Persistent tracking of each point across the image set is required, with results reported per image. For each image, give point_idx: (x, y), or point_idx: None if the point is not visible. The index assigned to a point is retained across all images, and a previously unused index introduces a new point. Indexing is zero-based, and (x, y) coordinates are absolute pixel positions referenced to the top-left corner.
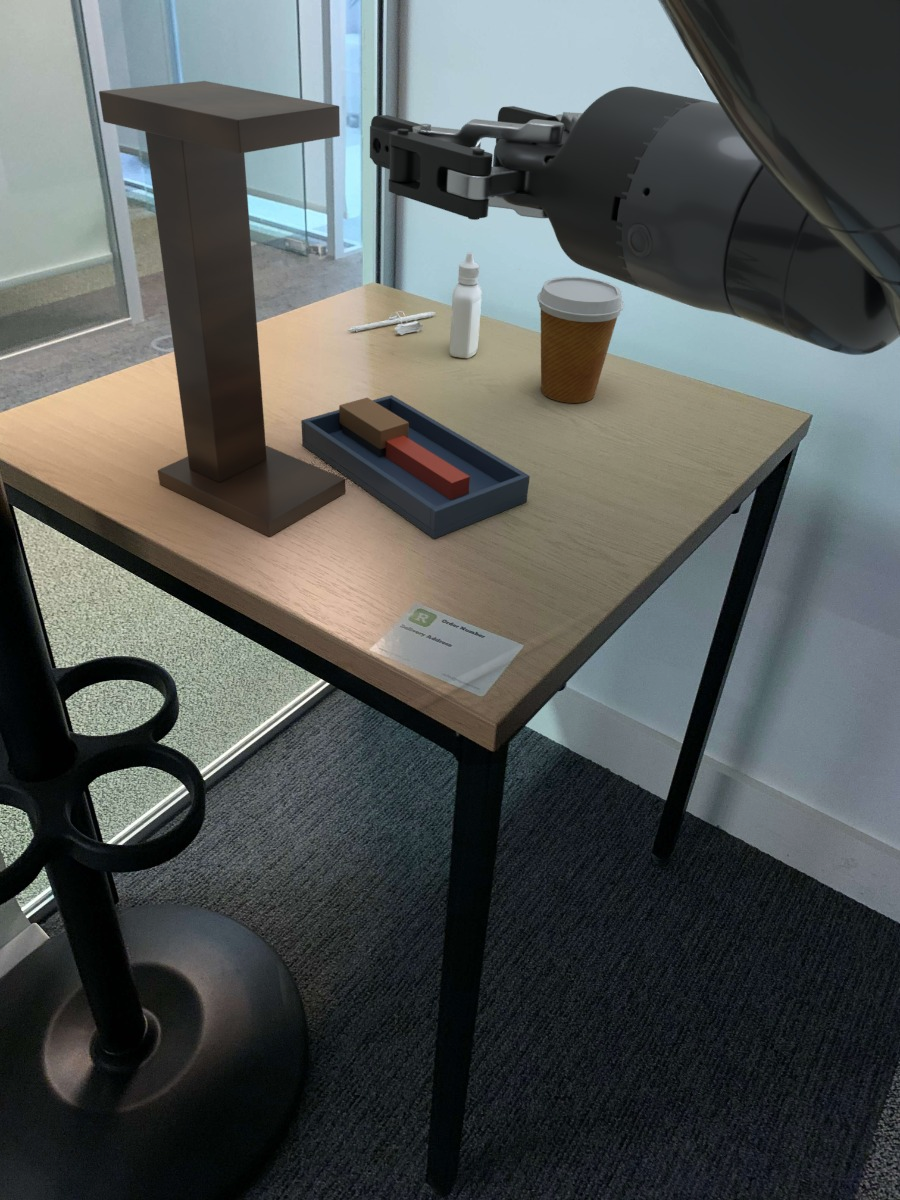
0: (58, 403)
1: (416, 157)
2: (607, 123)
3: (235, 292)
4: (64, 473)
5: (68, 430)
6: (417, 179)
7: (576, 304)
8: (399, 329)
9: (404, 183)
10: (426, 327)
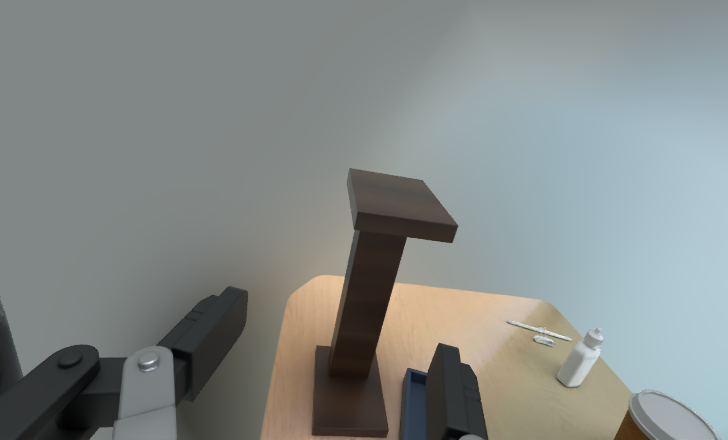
0: (339, 280)
1: (69, 405)
2: None
3: (376, 290)
4: (294, 316)
5: (324, 296)
6: (83, 427)
7: (660, 432)
8: (537, 338)
9: (56, 423)
10: (558, 346)
